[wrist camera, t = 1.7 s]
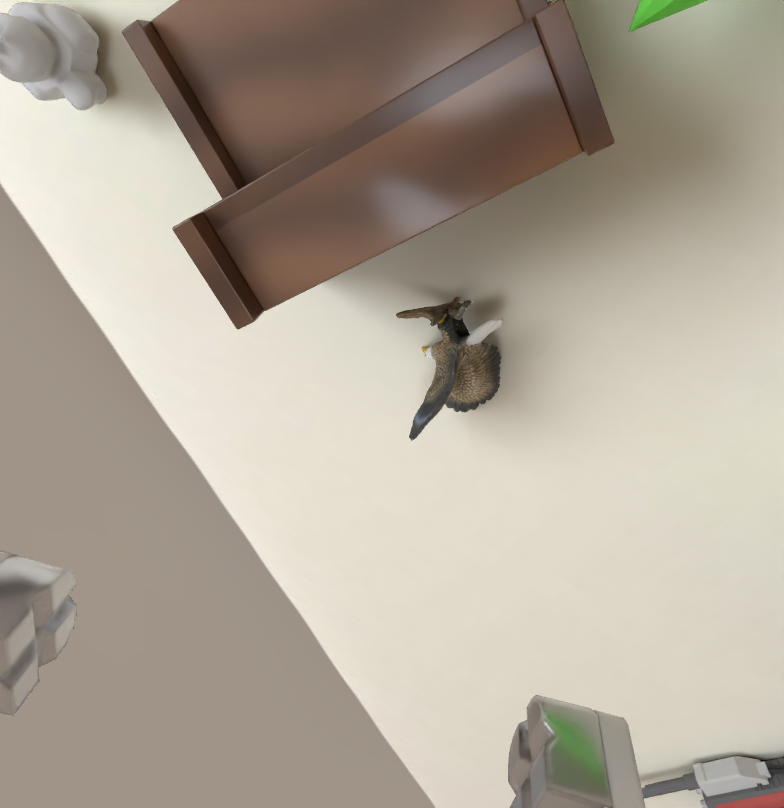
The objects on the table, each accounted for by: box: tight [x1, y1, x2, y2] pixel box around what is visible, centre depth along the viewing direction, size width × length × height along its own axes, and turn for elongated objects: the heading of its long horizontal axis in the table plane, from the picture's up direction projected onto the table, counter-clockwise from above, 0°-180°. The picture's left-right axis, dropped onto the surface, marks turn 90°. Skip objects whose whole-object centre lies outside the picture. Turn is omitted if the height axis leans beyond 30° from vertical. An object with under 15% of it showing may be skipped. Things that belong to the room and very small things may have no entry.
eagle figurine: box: [396, 297, 503, 440], centre depth 43 cm, size 8×7×9 cm
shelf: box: [122, 0, 615, 329], centre depth 33 cm, size 16×20×12 cm
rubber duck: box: [0, 2, 107, 110], centre depth 36 cm, size 5×7×8 cm
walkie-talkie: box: [642, 756, 784, 808], centre depth 60 cm, size 9×4×20 cm
